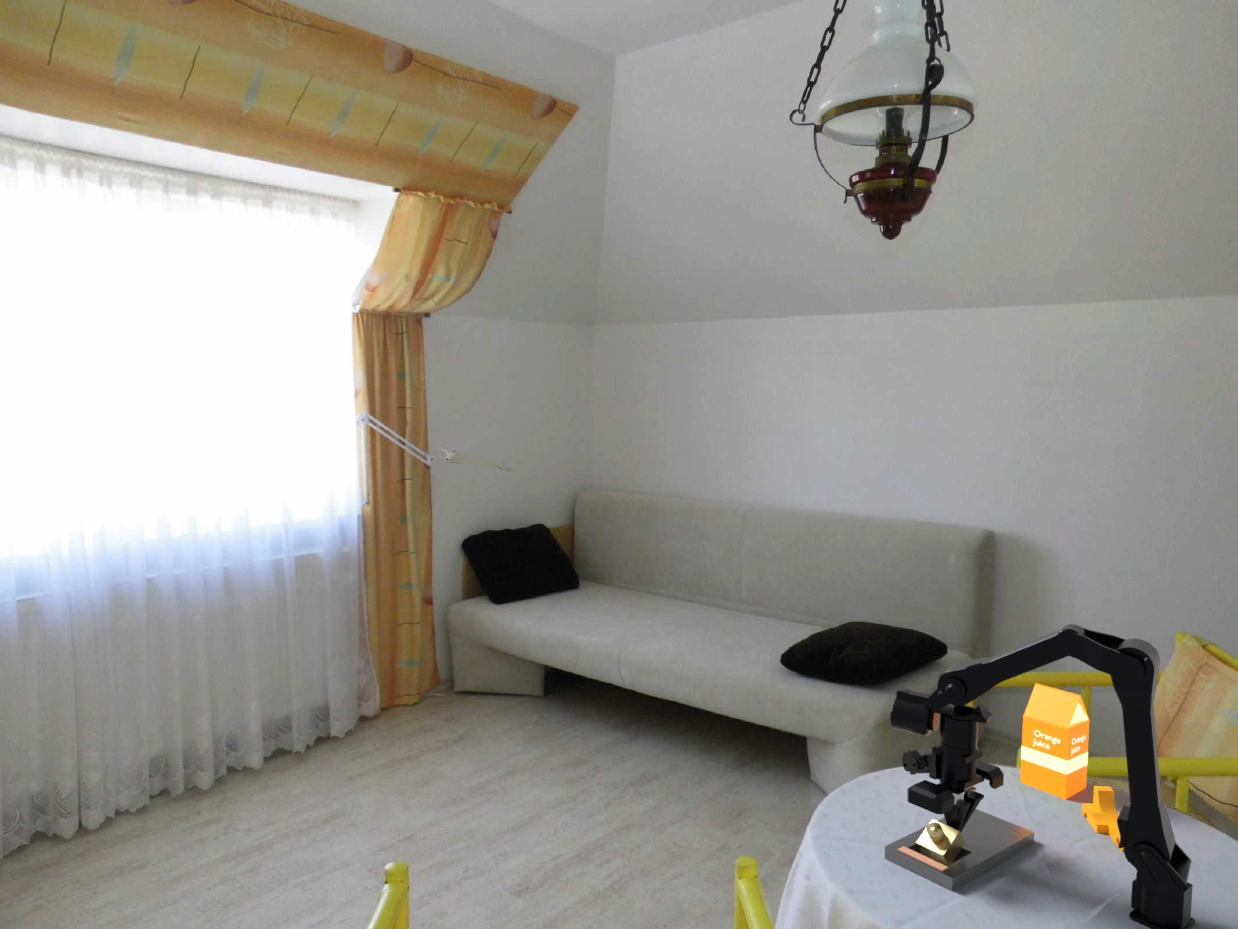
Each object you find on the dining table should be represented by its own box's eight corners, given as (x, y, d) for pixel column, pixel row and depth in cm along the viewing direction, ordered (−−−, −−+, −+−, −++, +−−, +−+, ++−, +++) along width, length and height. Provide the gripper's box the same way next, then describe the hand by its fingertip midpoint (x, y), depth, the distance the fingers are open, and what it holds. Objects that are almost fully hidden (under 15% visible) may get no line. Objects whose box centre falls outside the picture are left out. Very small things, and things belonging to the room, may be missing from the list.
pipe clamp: (1081, 820, 159) (1083, 785, 159) (1107, 822, 159) (1109, 786, 158) (1110, 854, 147) (1112, 816, 147) (1138, 856, 147) (1140, 818, 146)
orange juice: (1064, 806, 164) (1070, 699, 163) (1018, 789, 171) (1023, 686, 170) (1086, 796, 169) (1091, 691, 167) (1040, 779, 176) (1045, 679, 174)
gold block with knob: (965, 843, 145) (955, 822, 143) (949, 867, 142) (939, 847, 140) (938, 831, 149) (928, 810, 147) (921, 854, 146) (912, 834, 144)
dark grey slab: (1033, 844, 150) (1034, 831, 150) (951, 891, 136) (952, 877, 135) (967, 817, 160) (968, 804, 160) (884, 858, 145) (885, 845, 145)
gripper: (946, 716, 157) (943, 802, 158) (880, 740, 146) (877, 833, 147) (1007, 735, 148) (1003, 827, 150) (941, 763, 137) (938, 862, 138)
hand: (954, 836), depth 146 cm, fingers closed
